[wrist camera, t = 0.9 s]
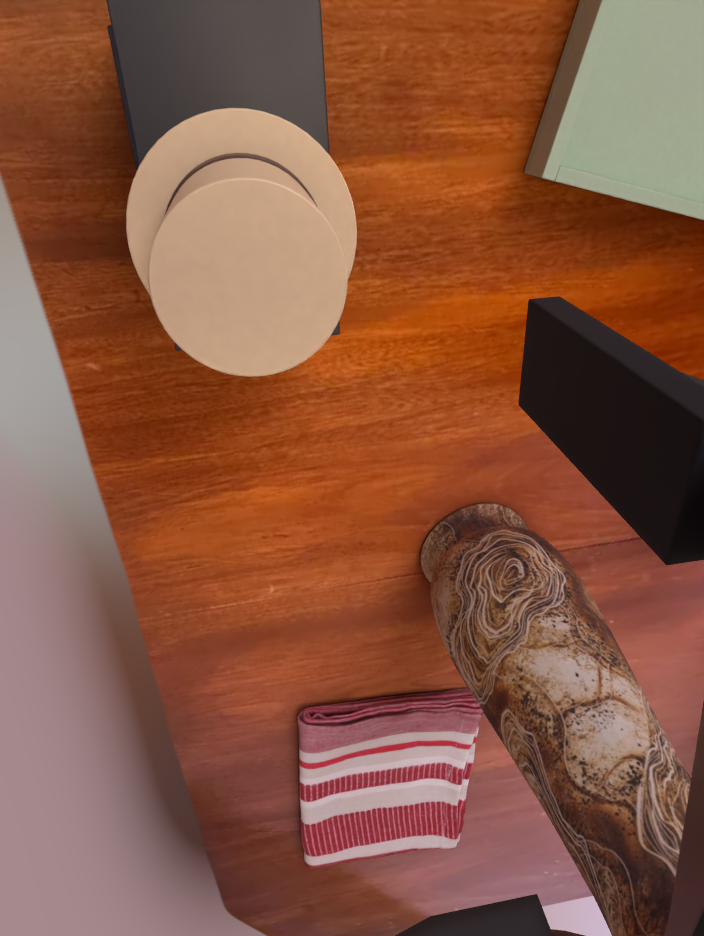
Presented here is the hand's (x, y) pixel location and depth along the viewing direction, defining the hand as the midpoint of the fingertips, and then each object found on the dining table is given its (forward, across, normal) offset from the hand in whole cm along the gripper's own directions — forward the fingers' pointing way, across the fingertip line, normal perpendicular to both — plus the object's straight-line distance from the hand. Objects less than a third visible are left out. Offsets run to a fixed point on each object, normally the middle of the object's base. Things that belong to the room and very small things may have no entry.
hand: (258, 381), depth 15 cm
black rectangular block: (+24, 0, +2) cm, 24 cm away
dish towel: (+25, +7, -53) cm, 59 cm away
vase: (+25, +15, -26) cm, 39 cm away
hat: (+16, 0, 0) cm, 16 cm away
